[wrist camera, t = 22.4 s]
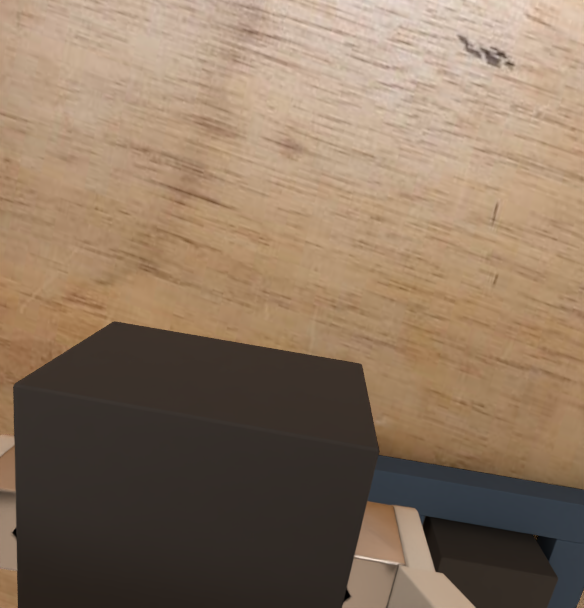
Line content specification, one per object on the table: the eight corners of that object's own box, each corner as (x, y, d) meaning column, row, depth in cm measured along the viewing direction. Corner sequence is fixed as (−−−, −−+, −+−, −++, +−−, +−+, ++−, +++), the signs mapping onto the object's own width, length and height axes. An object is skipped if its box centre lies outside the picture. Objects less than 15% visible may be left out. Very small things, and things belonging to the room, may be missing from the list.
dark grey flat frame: (599, 491, 25) (616, 510, 23) (538, 649, 28) (549, 674, 26) (217, 427, 26) (211, 441, 24) (201, 586, 29) (194, 607, 27)
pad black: (529, 527, 26) (559, 578, 22) (501, 605, 27) (526, 664, 24) (426, 509, 26) (441, 557, 22) (405, 587, 27) (416, 644, 24)
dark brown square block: (362, 362, 10) (380, 450, 7) (319, 565, 12) (316, 717, 8) (113, 320, 10) (11, 384, 7) (104, 525, 12) (17, 658, 9)
